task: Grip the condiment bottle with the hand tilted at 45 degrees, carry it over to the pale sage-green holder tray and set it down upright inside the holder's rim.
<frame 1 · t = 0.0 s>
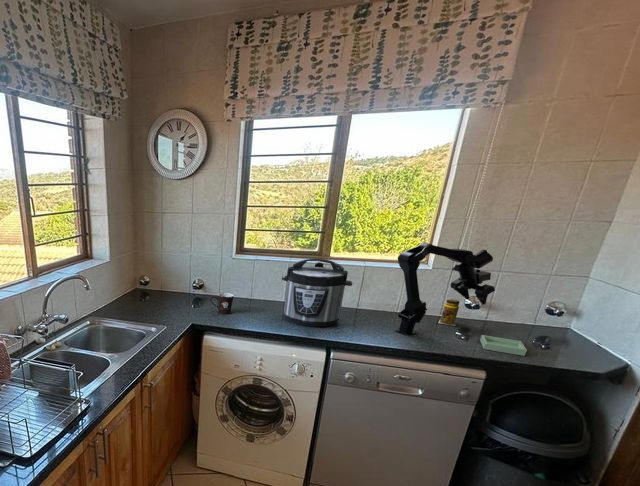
hand: (476, 301, 189), 15 cm above the worktop, tool tilted 35°, fingers open, 9 cm apart
pressure cooker: (309, 320, 208), on the worktop
holder: (501, 347, 175), on the worktop
coffee mug: (221, 312, 221), on the worktop
condiment: (447, 323, 207), on the worktop
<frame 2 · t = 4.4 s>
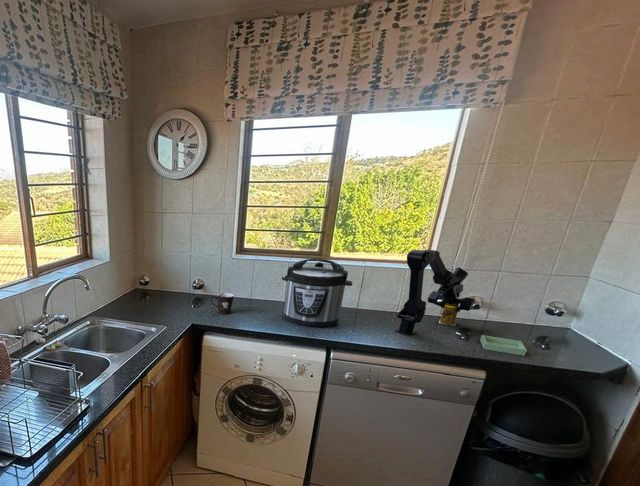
hand: (452, 310, 205), 7 cm above the worktop, tool tilted 45°, fingers closed on condiment, 6 cm apart
condiment: (447, 323, 207), on the worktop, touching gripper
everything else where it was.
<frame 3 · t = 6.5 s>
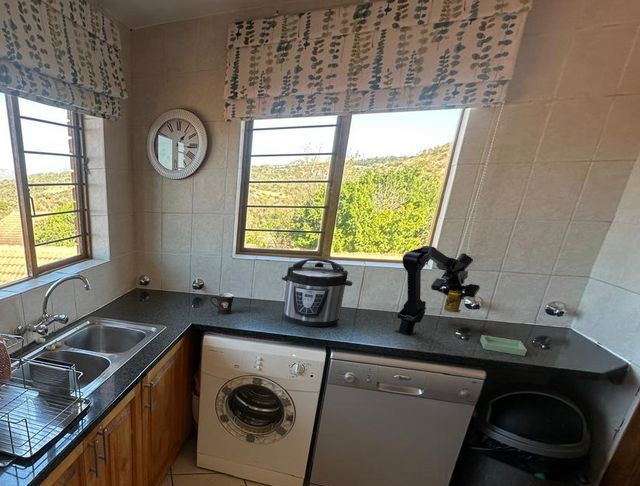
hand: (456, 297, 202), 13 cm above the worktop, tool tilted 45°, fingers closed on condiment, 6 cm apart
condiment: (451, 310, 204), point 6 cm above the worktop, touching gripper
everything else where it was.
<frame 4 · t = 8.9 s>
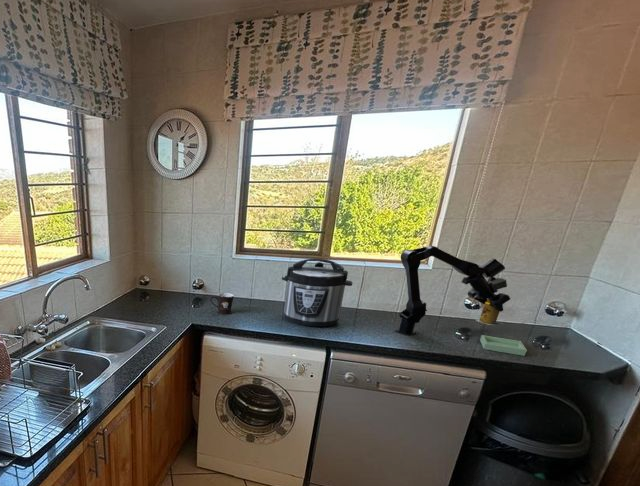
hand: (497, 309, 184), 13 cm above the worktop, tool tilted 45°, fingers closed on condiment, 6 cm apart
condiment: (488, 322, 186), point 6 cm above the worktop, touching gripper
everything else where it was.
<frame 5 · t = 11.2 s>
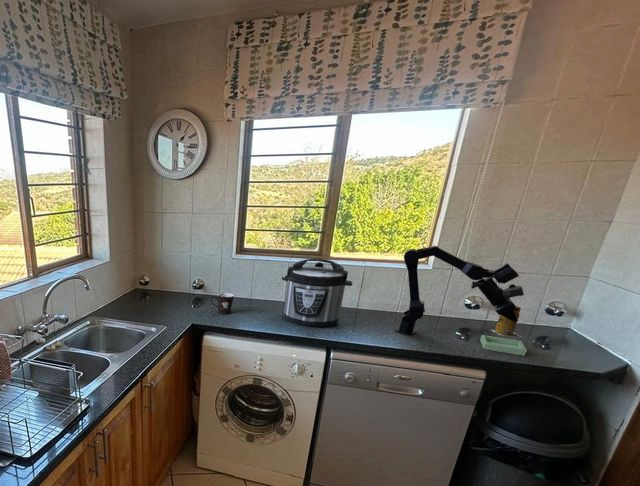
hand: (515, 319, 170), 13 cm above the worktop, tool tilted 45°, fingers closed on condiment, 6 cm apart
condiment: (505, 334, 173), point 6 cm above the worktop, touching gripper
everything else where it was.
when the fingers open (7 cm above the worktop, at t = 13.3 s): condiment stays where it is, resting on holder.
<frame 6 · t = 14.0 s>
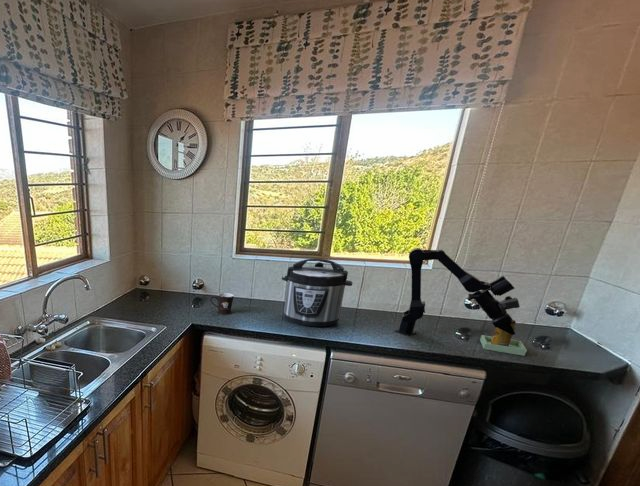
hand: (511, 331, 171), 8 cm above the worktop, tool tilted 45°, fingers open, 9 cm apart
condiment: (501, 346, 175), resting on holder
everything else where it was.
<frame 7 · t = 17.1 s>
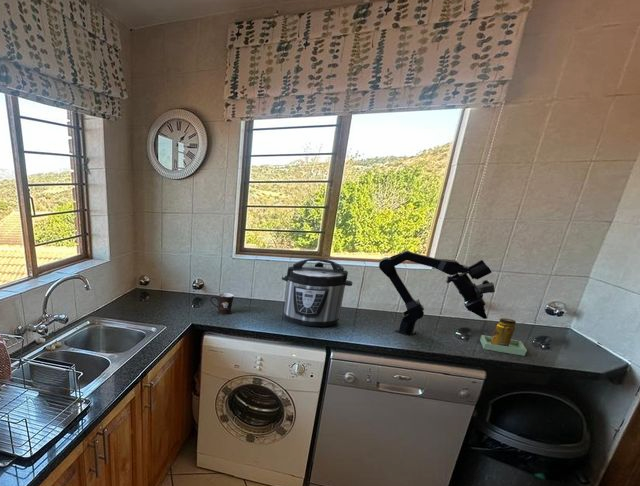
hand: (485, 315, 176), 13 cm above the worktop, tool tilted 40°, fingers open, 9 cm apart
nothing on the worktop moved.
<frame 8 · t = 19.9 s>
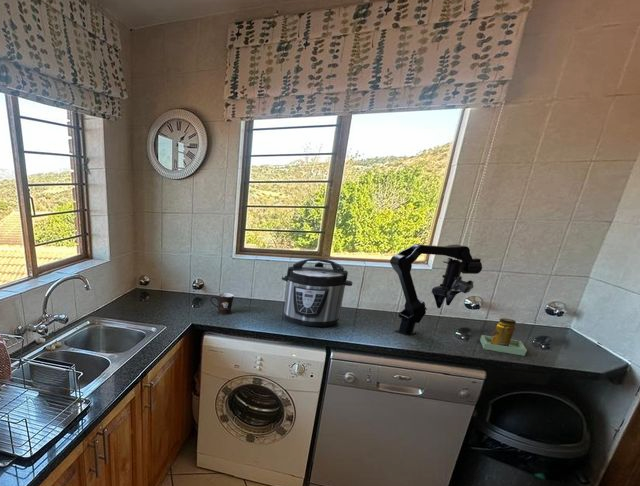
hand: (443, 306, 188), 13 cm above the worktop, tool pointing down, fingers open, 9 cm apart
nothing on the worktop moved.
at the end: condiment inside the target area in the holder (0.2 cm from its centre), point 0.4 cm above the holder's base; condiment tilted 0°; the gripper is holding nothing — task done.
